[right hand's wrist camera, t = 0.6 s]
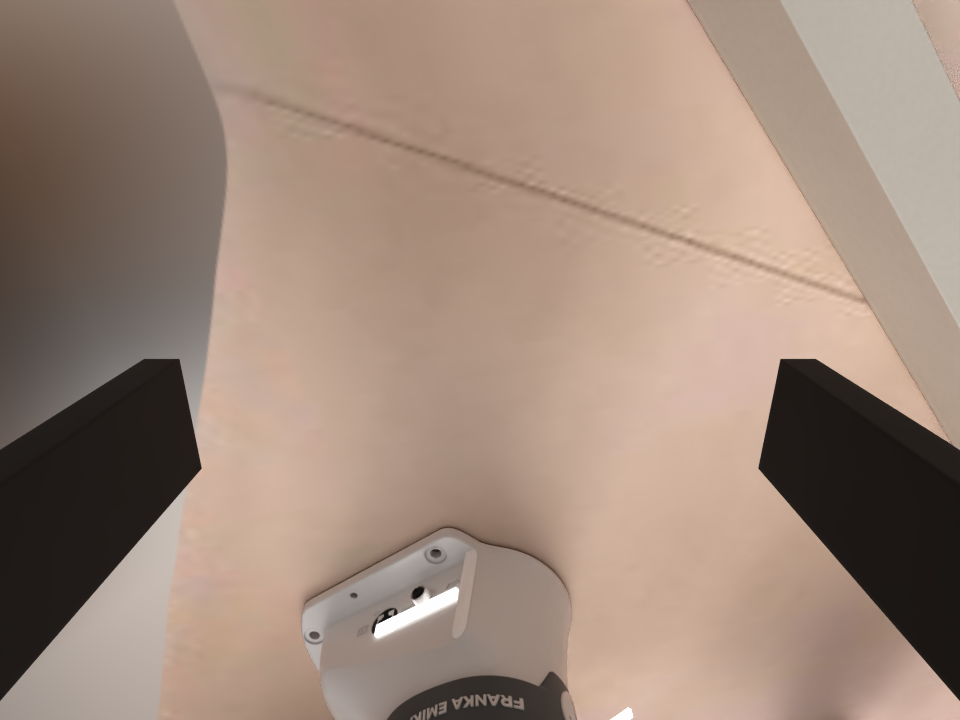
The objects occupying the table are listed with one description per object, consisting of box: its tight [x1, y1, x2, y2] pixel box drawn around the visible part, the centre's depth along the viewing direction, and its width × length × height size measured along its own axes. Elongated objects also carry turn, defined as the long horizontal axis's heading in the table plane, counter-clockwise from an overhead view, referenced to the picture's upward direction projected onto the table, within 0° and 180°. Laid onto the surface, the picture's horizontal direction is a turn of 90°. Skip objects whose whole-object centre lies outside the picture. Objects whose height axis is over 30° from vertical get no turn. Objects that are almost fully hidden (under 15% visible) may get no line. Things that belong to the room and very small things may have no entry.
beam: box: [687, 0, 960, 450], centre depth 32 cm, size 54×4×8 cm, turn 40°
